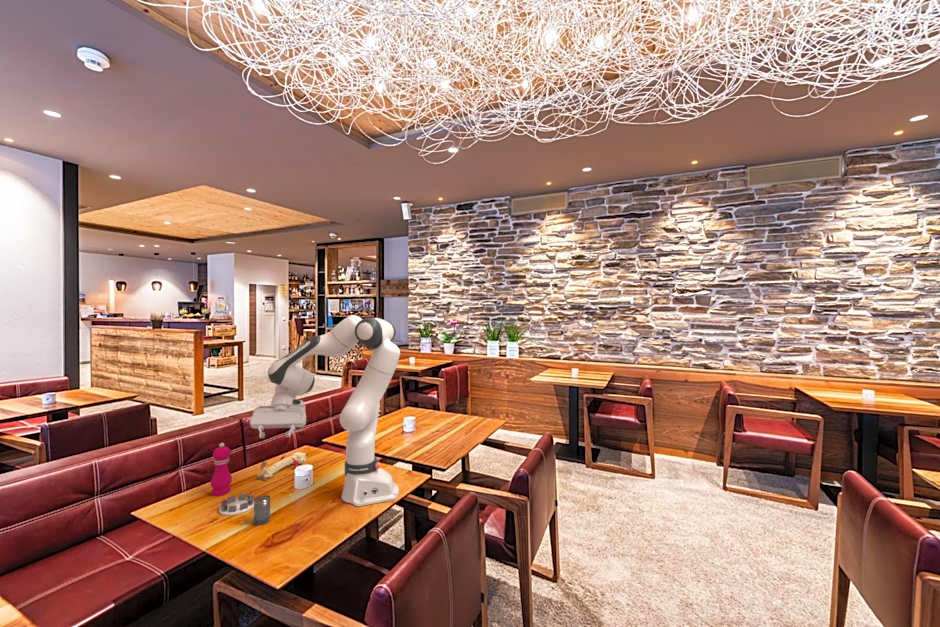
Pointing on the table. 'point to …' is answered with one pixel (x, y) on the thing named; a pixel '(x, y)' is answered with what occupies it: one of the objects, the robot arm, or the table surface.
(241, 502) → the castellated coaster
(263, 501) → the sleeve nut
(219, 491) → the pepper mill
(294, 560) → the table surface
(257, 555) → the table surface
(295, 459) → the cream dog bone
